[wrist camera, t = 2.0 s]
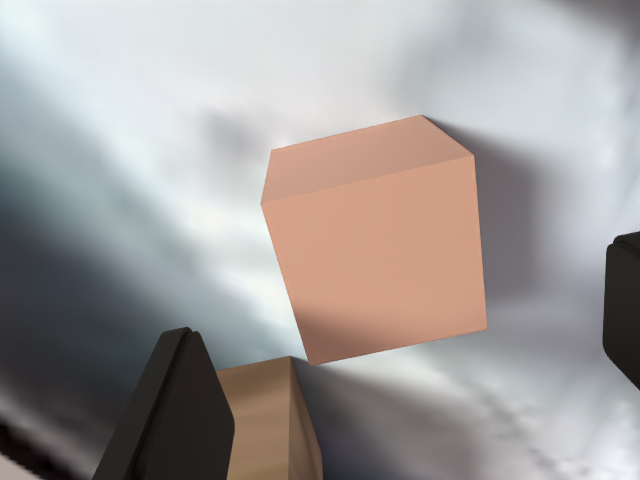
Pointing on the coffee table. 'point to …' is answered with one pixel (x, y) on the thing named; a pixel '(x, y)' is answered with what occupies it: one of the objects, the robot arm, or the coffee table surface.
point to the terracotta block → (377, 238)
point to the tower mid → (264, 473)
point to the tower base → (270, 419)
